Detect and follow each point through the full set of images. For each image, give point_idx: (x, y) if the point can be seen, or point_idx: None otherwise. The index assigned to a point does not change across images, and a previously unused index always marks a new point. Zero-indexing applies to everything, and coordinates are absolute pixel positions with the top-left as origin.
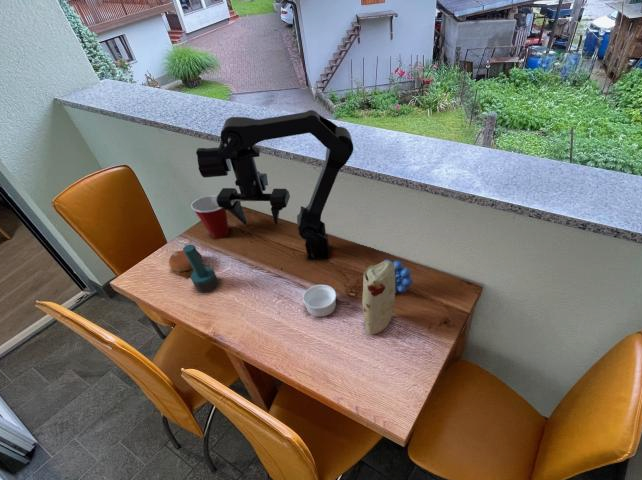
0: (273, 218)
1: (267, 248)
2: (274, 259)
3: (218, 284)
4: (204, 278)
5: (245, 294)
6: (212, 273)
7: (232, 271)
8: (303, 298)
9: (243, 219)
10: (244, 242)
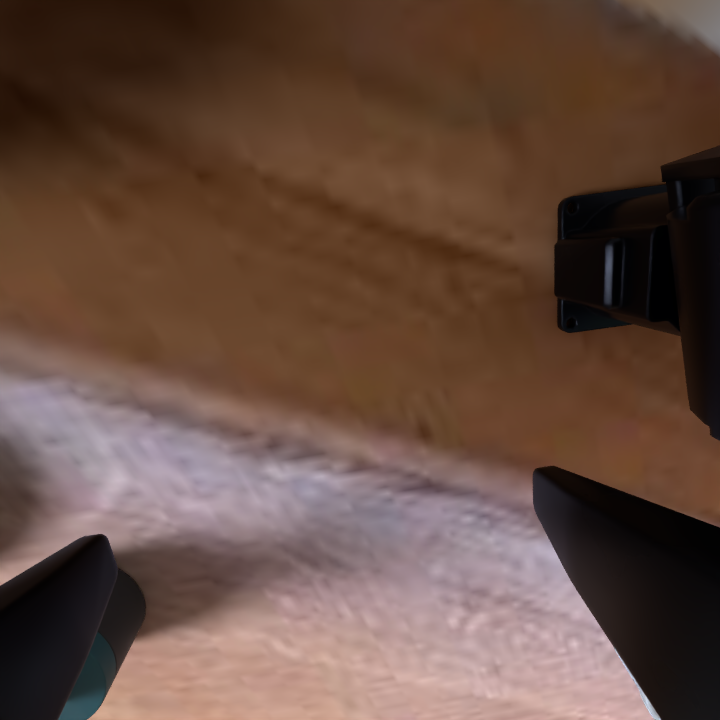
0: (644, 688)
1: (262, 264)
2: (352, 363)
3: (141, 595)
4: (75, 704)
5: (308, 616)
6: (94, 668)
7: (154, 497)
8: (649, 705)
9: (62, 671)
10: (60, 222)
